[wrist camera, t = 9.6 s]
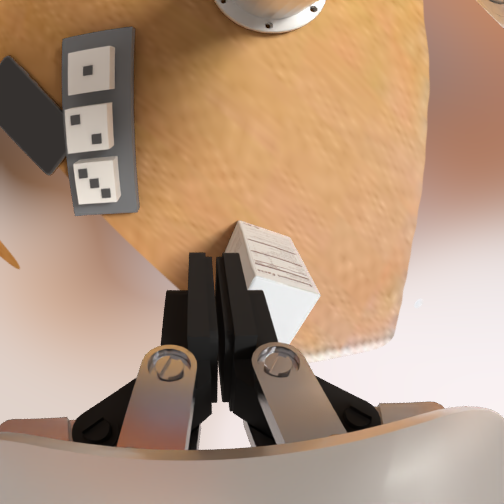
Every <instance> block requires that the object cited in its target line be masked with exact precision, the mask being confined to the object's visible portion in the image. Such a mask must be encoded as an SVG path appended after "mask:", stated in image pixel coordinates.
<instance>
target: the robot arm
mask: <svg viewBox="0 0 504 504" xmlns="http://www.w3.org/2000/svg"><path fill="white" fill-rule="evenodd" d="M214 1H215V3H216V5H217V6H218V8H219V9H220V10H221V12H222V13H223V14H225V15H226V16H227V17H228V18H229V19H230V20H232V21H233V22H235V23H236V24H238V25H240V26H242V27H244V28H246V29H249V30H253V31H256V32H262V33H284V32H289V31H293V30H295V29H298V28H301V27H303V26H304V25H306V24H308V23H309V22H311V21H312V20H313V19H315V18H316V17H317V15H318V14H319V13H320V12H321V10H322V8H323V7H324V5H325V2H326V0H225V1H226V3H221V1H222V0H214ZM476 1H477V2H478V3H479V4H480V5H481V6H482V7H483V8H484V9H485V10H486V11H487V12H488V13H489V14H490V15H491V16H492V17H493V18H494V19H495V20H496V21H497V22H498V23H499V24H500V25H501V26H502V27H503V28H504V0H476ZM310 9H313V12H311V10H310ZM265 25H269V28H266V27H265ZM218 366H219V375H220V385H221V395H222V401H223V402H229V408H230V411H233V413H234V414H236V415H237V416H239V417H240V418H242V419H243V423H244V428H245V430H246V433H247V436H248V439H249V442H250V444H251V447H250V448H235V449H217V450H198V449H199V440H200V431H201V423H202V422H203V421H204V420H205V419H206V418H207V417H208V416H210V415H211V414H212V405H211V403H216V402H217V380H218V378H217V377H218ZM0 504H504V418H503V417H502V416H501V415H499V414H498V413H497V412H495V411H493V410H490V409H487V408H481V407H467V406H464V407H451V408H444V407H443V406H442V405H440V404H438V403H436V402H414V403H380V404H379V405H378V406H377V407H373V406H372V405H371V404H370V403H368V402H366V401H364V400H362V399H360V398H358V397H356V396H354V395H352V394H350V393H348V392H346V391H344V390H342V389H340V388H338V387H336V386H334V385H332V384H330V383H328V382H326V381H324V380H323V379H320V378H319V377H317V376H315V375H314V374H313V372H312V370H311V368H310V366H309V364H308V363H307V361H306V359H305V357H304V356H303V355H302V353H301V352H300V351H299V350H298V349H296V348H295V347H294V346H291V345H289V344H286V343H280V342H278V339H277V336H276V332H275V329H274V325H273V322H272V319H271V315H270V312H269V308H268V305H267V302H266V298H265V295H264V292H263V290H247V286H246V282H245V277H244V273H243V268H242V264H241V259H240V255H239V253H223V254H222V257H216V283H215V293H214V281H213V268H212V257H205V253H189V276H188V290H173V291H172V290H167V292H166V299H165V307H164V317H163V328H162V338H161V346H158V347H156V348H154V349H152V350H150V351H149V352H148V353H147V354H146V355H145V357H144V359H143V360H142V363H141V366H140V369H139V372H138V375H137V378H136V379H134V380H132V381H131V382H129V383H128V384H126V385H125V386H123V387H122V388H120V389H119V390H118V391H116V392H115V393H113V394H112V395H110V396H109V397H107V398H106V399H104V400H103V401H101V402H100V403H98V404H97V405H95V406H94V407H92V408H90V409H89V410H87V411H86V412H84V413H83V414H82V415H80V416H79V417H78V418H77V419H76V420H69V419H68V418H67V417H62V418H61V417H60V418H44V419H43V418H41V419H11V420H7V421H5V422H4V423H2V424H1V425H0Z"/></svg>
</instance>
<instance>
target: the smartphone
mask: <svg viewBox="0 0 504 504" xmlns="http://www.w3.org/2000/svg"><path fill="white" fill-rule="evenodd" d="M0 127H1V128H2V129H3V130H4V131H5V132H6V133H7V134H8V135H9V136H10V137H11V139H12V140H13V141H14V142H15V143H16V144H17V145H18V146H19V147H20V148H21V149H22V150H23V151H24V152H25V153H26V154H27V155H28V156H29V157H30V158H31V159H32V160H33V161H34V163H35V164H36V165H37V166H38V167H39V168H40V169H41V170H42V171H43V172H45V173H46V174H47V175H52V174H53V173H54V172H55V171H56V169H57V168H58V167H59V166H60V164H61V163H62V162H63V160H64V159H65V157H66V148H65V137H64V124H63V110H62V109H61V108H60V107H59V106H58V104H57V103H56V102H55V101H54V100H53V99H52V98H51V97H50V96H49V95H48V94H47V93H46V92H45V91H44V90H43V89H42V88H41V87H40V86H39V85H38V83H37V82H36V81H35V80H34V79H33V78H32V77H31V76H30V75H29V74H28V73H27V72H26V71H25V70H24V68H23V67H22V66H20V65H19V64H18V63H17V62H16V60H15V59H14V58H13V57H12V56H11V55H7V56H6V57H5V58H4V59H3V60H2V61H1V63H0Z"/></svg>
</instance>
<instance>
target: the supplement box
mask: <svg viewBox="0 0 504 504" xmlns="http://www.w3.org/2000/svg"><path fill="white" fill-rule="evenodd" d="M224 253H239V255H240V259H241V264H242V268H243V273H244V277H245V282H246V286H247V290H263V292H264V295H265V298H266V302H267V305H268V308H269V312H270V315H271V319H272V322H273V325H274V329H275V332H276V336H277V339H278V342H280V343H286V344H290V342H291V341H292V339H293V338H294V336H295V335H296V333H297V332H298V330H299V328H300V327H301V325H302V324H303V322H304V321H305V319H306V318H307V316H308V315H309V313H310V311H311V310H312V308H313V307H314V305H315V304H316V302H317V300H318V299H319V297H320V293H319V291H318V289H317V287H316V285H315V283H314V282H313V280H312V278H311V276H310V274H309V272H308V270H307V268H306V266H305V264H304V263H303V261H302V259H301V257H300V255H299V253H298V251H297V249H296V248H295V246H294V244H293V242H292V240H291V238H290V237H288V236H285V235H282V234H279V233H276V232H273V231H270V230H267V229H264V228H261V227H258V226H255V225H252V224H249V223H246V222H243V221H238V222H237V224H236V227H235V229H234V231H233V233H232V236H231V238H230V240H229V243H228V245H227V248H226V250H225V252H224Z"/></svg>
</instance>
